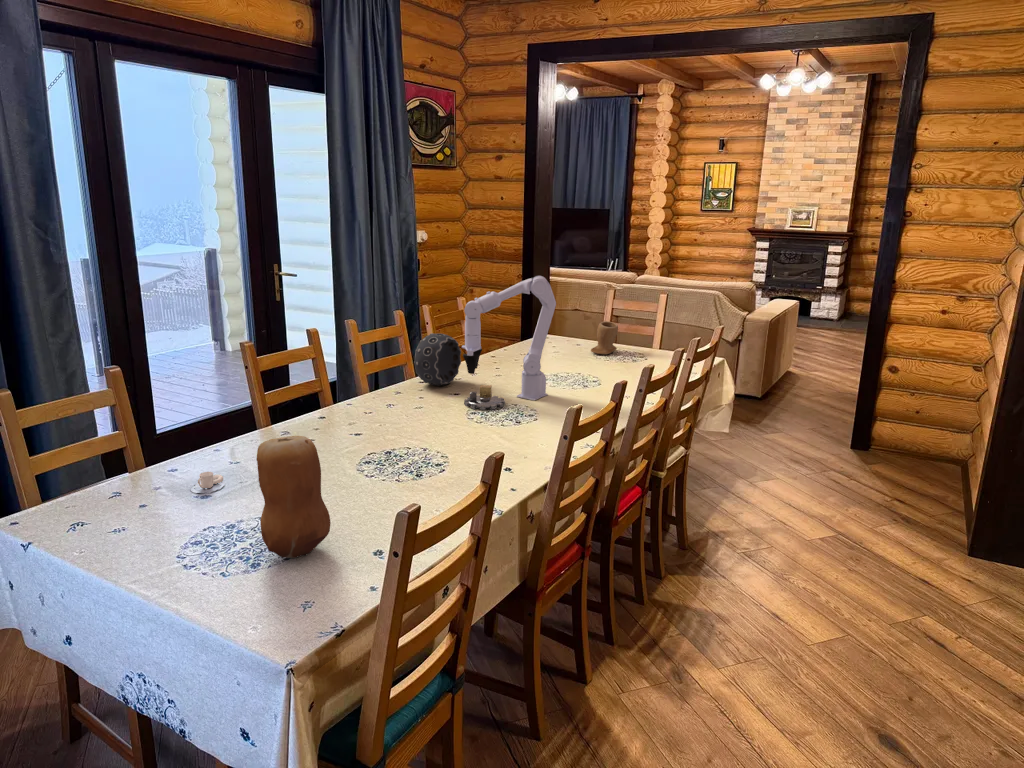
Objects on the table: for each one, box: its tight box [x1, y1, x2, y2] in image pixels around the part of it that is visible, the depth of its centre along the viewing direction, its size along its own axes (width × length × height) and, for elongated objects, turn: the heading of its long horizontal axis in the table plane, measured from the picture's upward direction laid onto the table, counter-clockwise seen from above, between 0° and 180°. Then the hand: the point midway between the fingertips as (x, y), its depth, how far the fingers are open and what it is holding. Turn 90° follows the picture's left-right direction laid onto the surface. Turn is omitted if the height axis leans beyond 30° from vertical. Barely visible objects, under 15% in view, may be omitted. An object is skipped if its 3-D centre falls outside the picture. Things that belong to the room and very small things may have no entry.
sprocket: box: [463, 390, 506, 411], centre depth 244 cm, size 14×14×5 cm
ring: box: [413, 333, 462, 386], centre depth 267 cm, size 11×20×20 cm, turn 153°
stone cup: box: [590, 320, 619, 355], centre depth 328 cm, size 15×12×15 cm
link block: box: [479, 384, 493, 398], centre depth 248 cm, size 4×3×4 cm
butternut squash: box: [256, 435, 331, 559], centre depth 138 cm, size 14×13×25 cm
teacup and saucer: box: [197, 471, 224, 489], centre depth 172 cm, size 9×8×4 cm
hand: (472, 370), depth 253 cm, fingers open, 7 cm apart
